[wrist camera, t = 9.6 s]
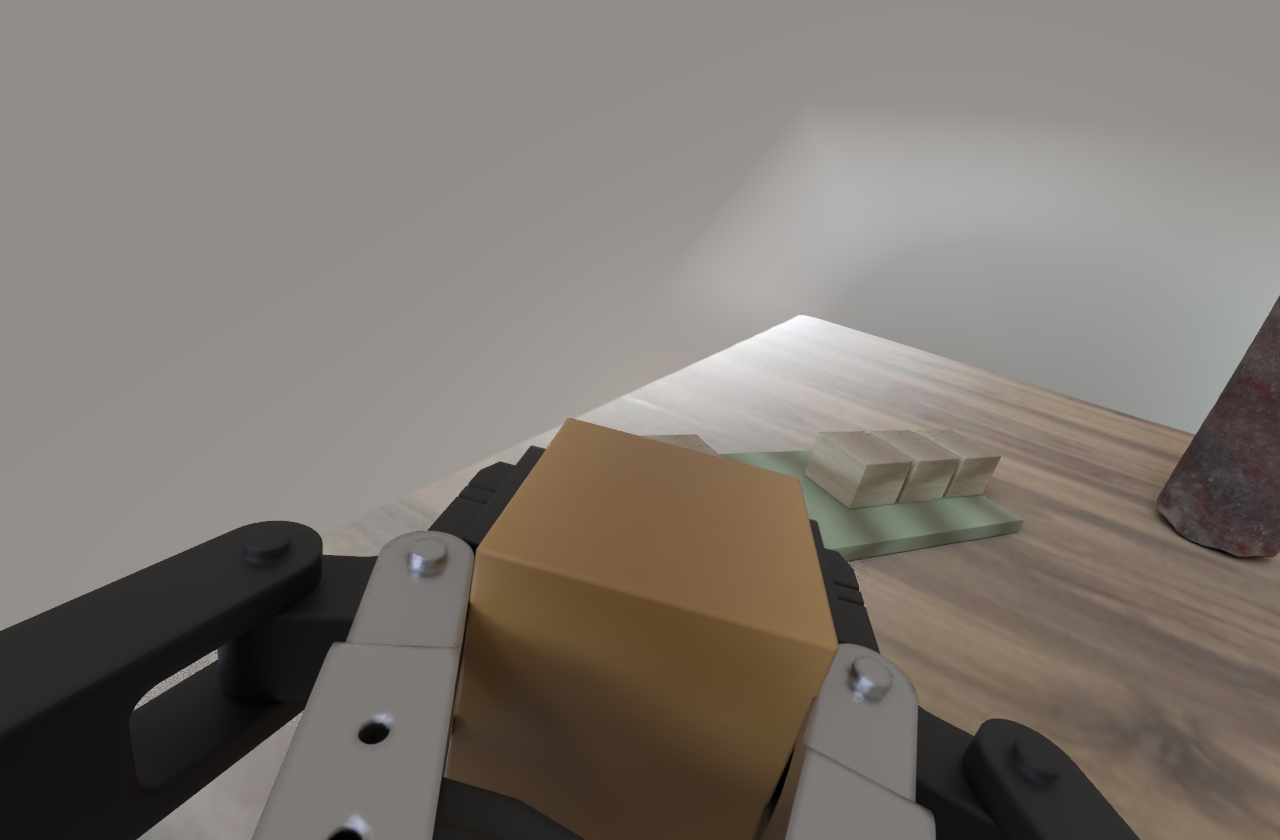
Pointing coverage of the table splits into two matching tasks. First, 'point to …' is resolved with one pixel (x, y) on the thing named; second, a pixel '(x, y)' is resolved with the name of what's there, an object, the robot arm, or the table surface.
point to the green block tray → (887, 488)
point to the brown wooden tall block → (641, 640)
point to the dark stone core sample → (1235, 460)
